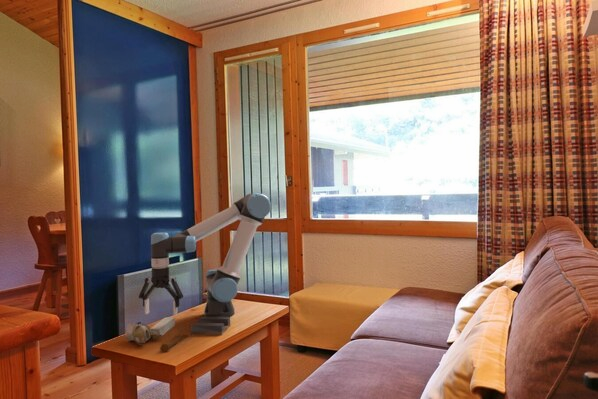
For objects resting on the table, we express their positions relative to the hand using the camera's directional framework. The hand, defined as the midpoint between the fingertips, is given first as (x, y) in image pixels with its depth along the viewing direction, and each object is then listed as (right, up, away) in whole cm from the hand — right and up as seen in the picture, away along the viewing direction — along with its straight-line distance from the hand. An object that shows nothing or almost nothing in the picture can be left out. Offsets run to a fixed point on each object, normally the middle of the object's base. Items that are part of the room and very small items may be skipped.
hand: (161, 314), depth 185 cm
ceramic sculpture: (-4, -9, -13) cm, 16 cm away
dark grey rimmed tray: (+23, -7, -1) cm, 24 cm away
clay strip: (+1, -8, 0) cm, 8 cm away
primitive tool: (+10, -8, -15) cm, 20 cm away
